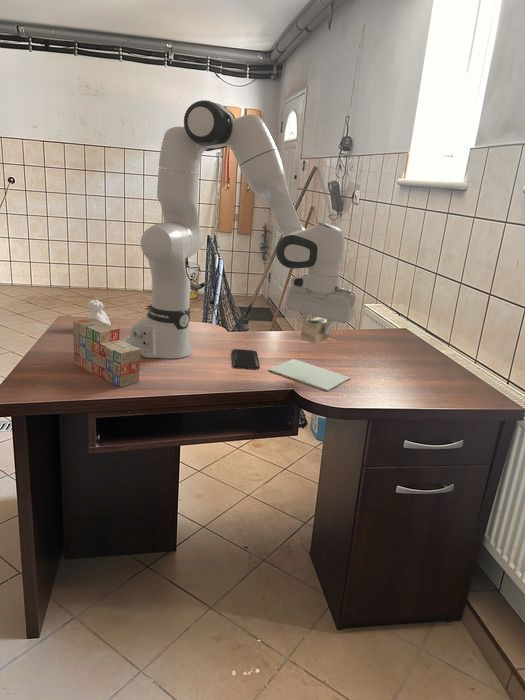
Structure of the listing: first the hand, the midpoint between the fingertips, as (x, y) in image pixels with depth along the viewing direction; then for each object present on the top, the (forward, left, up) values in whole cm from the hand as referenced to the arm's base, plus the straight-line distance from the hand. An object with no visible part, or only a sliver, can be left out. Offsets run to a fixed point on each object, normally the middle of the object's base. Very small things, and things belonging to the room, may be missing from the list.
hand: (316, 331), depth 148 cm
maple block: (0, 0, -2) cm, 2 cm away
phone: (-20, -5, -14) cm, 25 cm away
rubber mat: (0, 0, -14) cm, 14 cm away
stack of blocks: (-39, -43, -14) cm, 59 cm away
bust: (-69, -21, -14) cm, 74 cm away
